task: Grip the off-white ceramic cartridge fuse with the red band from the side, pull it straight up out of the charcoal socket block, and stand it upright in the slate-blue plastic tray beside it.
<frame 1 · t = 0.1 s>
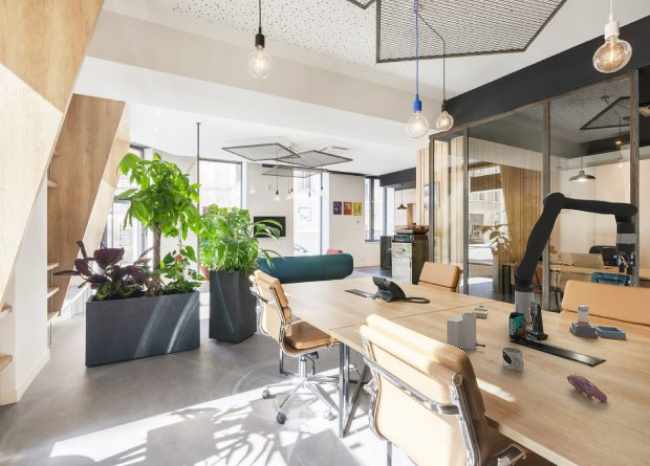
hand: (625, 273, 164), 29 cm above the table, tool pointing down, fingers open, 8 cm apart
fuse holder: (583, 333, 159), on the table
mug: (514, 369, 121), on the table
beverage can: (517, 338, 154), on the table
video game controller: (585, 395, 102), on the table
tray: (608, 334, 157), on the table
electrical outlet: (481, 314, 198), on the table
grey stepped block: (468, 347, 144), on the table
fuse: (583, 329, 159), point 2 cm above the table, touching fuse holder
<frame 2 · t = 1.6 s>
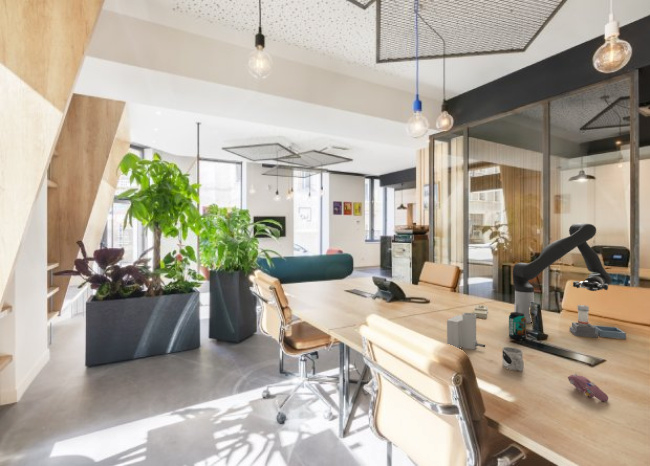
hand: (587, 287, 166), 22 cm above the table, tool horizontal, fingers open, 8 cm apart
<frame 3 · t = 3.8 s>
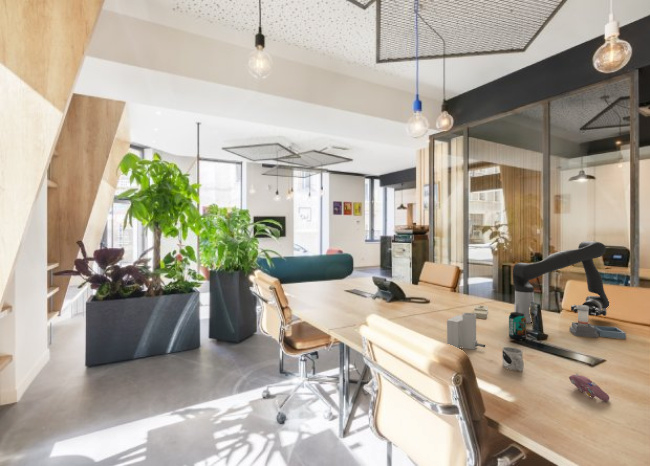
hand: (585, 312, 164), 10 cm above the table, tool horizontal, fingers open, 8 cm apart
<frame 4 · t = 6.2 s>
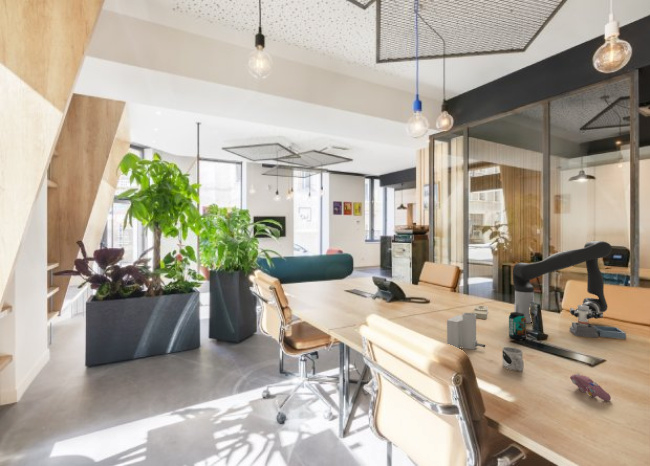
hand: (582, 316, 157), 9 cm above the table, tool horizontal, fingers closed on fuse, 4 cm apart
fuse: (583, 329, 159), point 2 cm above the table, touching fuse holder, gripper
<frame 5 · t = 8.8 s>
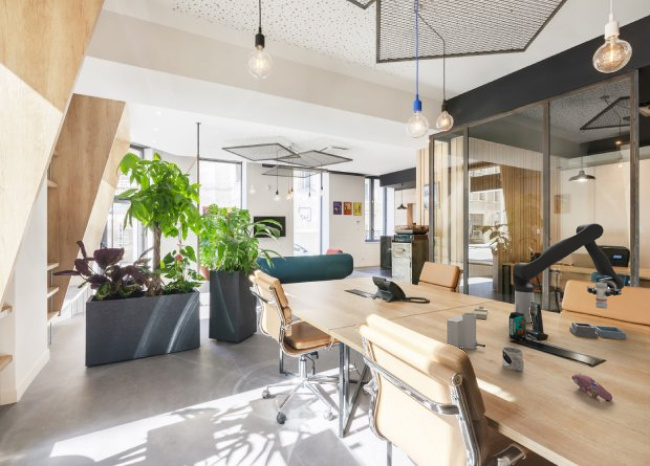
hand: (600, 293, 156), 21 cm above the table, tool horizontal, fingers closed on fuse, 4 cm apart
fuse: (601, 307, 158), point 13 cm above the table, touching gripper
when the fingers open (10 cm above the table, at t = 11.6 s): fuse drops 1 cm, resting on tray.
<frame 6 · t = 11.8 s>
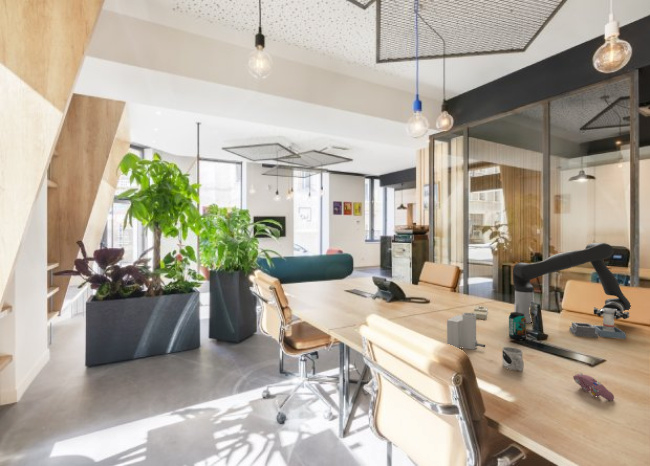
hand: (607, 315, 156), 10 cm above the table, tool horizontal, fingers open, 6 cm apart
fuse: (608, 333, 157), point 1 cm above the table, touching tray
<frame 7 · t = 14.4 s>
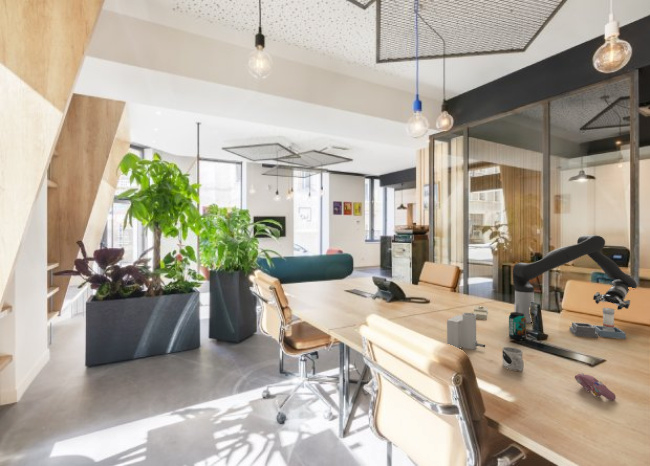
hand: (607, 305, 165), 13 cm above the table, tool horizontal, fingers open, 8 cm apart
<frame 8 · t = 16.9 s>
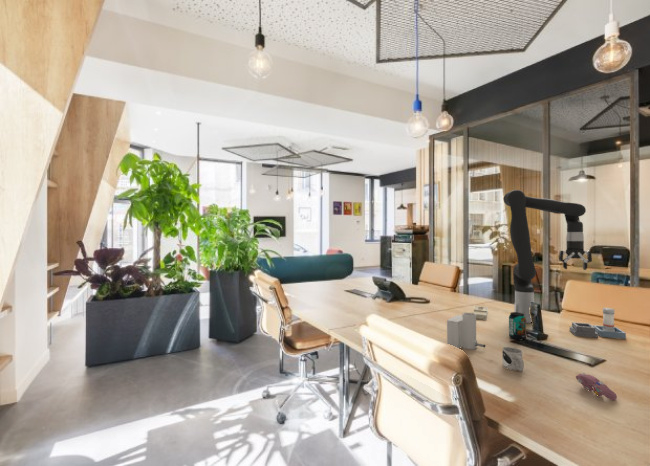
hand: (575, 269, 176), 30 cm above the table, tool pointing down, fingers open, 8 cm apart
at the end: fuse 0.1 cm off-centre on the tray, point 0.8 cm above the tray's base; fuse tilted 0°; the gripper is holding nothing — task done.
